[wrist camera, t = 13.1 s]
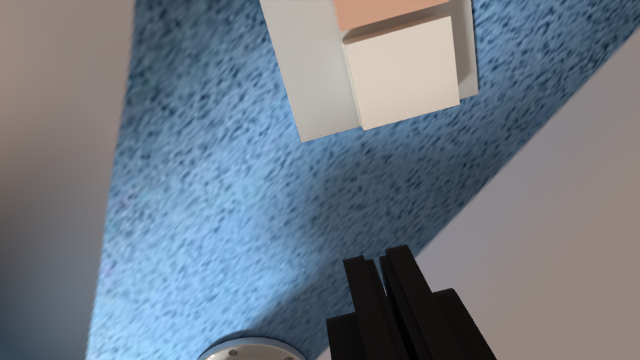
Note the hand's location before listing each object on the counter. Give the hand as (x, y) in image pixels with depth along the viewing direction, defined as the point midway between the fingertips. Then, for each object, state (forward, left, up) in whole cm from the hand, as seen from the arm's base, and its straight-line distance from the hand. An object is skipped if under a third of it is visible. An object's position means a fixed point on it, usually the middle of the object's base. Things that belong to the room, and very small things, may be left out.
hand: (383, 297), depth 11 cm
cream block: (0, -3, -20) cm, 21 cm away
